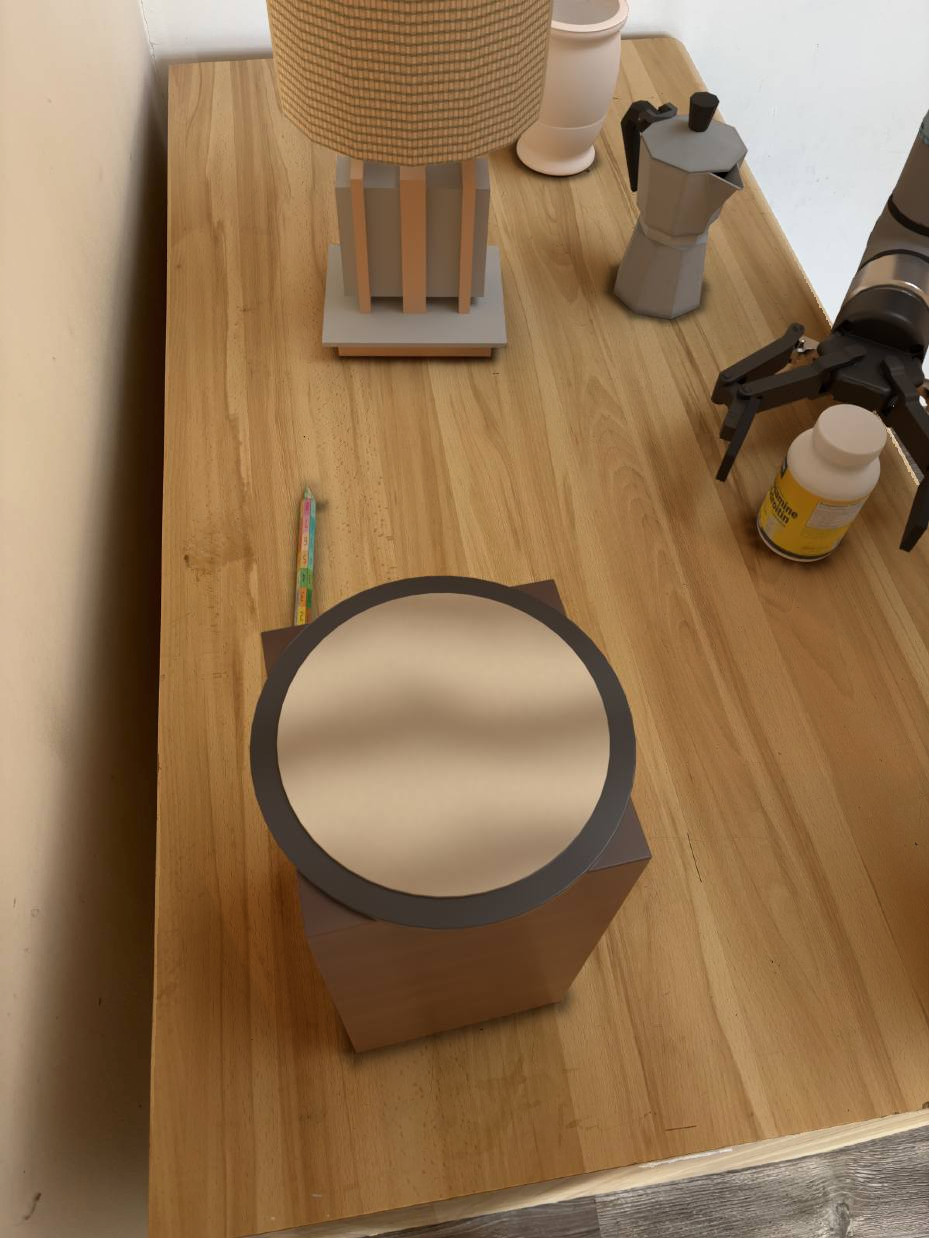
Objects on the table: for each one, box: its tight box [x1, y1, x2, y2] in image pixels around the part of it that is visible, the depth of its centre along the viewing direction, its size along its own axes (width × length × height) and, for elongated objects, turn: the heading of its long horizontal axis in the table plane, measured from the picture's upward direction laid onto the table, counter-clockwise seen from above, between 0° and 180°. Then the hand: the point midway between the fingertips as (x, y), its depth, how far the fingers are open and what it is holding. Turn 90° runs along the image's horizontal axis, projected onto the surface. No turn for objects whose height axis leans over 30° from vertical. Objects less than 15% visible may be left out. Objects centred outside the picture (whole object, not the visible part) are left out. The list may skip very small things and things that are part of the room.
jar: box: [516, 0, 630, 177], centre depth 94 cm, size 11×10×15 cm
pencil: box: [293, 481, 317, 626], centre depth 69 cm, size 1×1×18 cm
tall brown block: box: [248, 575, 653, 1054], centre depth 45 cm, size 14×14×27 cm
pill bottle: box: [756, 403, 888, 563], centre depth 68 cm, size 6×6×12 cm
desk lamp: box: [265, 0, 554, 357], centre depth 71 cm, size 20×20×35 cm
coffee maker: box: [612, 91, 749, 320], centre depth 81 cm, size 15×9×18 cm, turn 32°
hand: (816, 503), depth 66 cm, fingers open, 13 cm apart
